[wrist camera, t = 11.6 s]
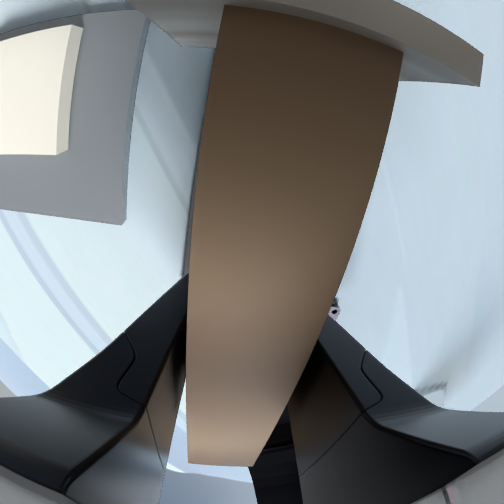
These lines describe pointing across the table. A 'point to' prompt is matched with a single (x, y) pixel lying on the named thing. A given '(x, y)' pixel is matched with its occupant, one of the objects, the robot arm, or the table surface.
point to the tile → (37, 90)
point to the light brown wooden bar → (284, 187)
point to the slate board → (86, 126)
